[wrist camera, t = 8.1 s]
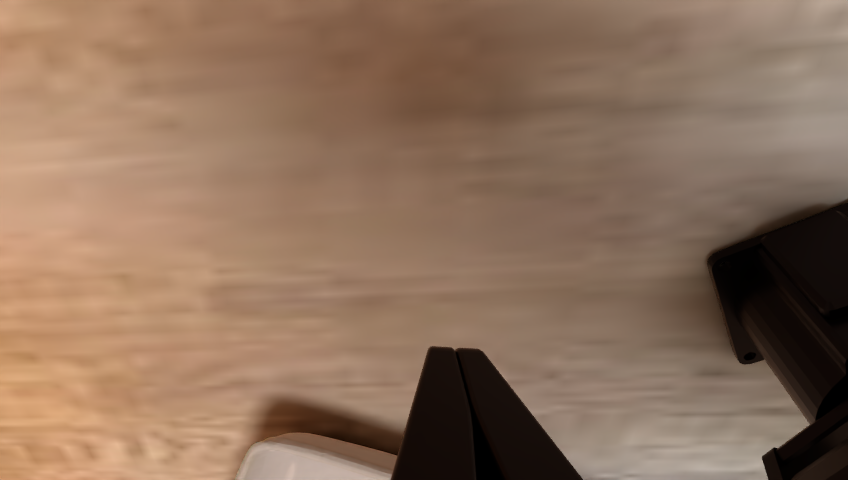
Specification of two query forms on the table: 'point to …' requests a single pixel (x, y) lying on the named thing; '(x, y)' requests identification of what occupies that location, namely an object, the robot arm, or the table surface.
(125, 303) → the table surface
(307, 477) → the square plate
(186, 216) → the table surface
